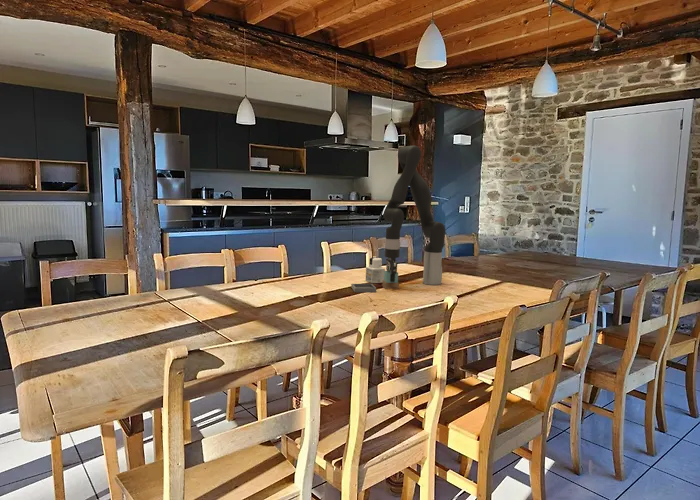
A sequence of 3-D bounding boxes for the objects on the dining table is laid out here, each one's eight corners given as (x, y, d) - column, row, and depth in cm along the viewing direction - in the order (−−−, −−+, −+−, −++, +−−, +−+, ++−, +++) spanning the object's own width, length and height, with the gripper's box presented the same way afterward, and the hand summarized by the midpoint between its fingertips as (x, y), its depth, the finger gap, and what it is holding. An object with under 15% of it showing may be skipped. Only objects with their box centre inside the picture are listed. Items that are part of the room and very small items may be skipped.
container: (365, 280, 260) (366, 256, 258) (377, 279, 263) (378, 256, 262) (371, 283, 253) (372, 259, 251) (384, 282, 256) (385, 258, 255)
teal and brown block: (395, 286, 248) (396, 268, 247) (398, 288, 241) (399, 271, 240) (382, 286, 247) (383, 268, 246) (385, 288, 240) (386, 271, 239)
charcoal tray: (371, 287, 243) (372, 283, 242) (376, 292, 232) (376, 288, 232) (351, 287, 241) (351, 283, 241) (354, 292, 231) (354, 288, 230)
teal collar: (395, 280, 247) (395, 270, 247) (397, 282, 242) (398, 272, 241) (384, 280, 246) (384, 270, 246) (386, 282, 241) (387, 272, 240)
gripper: (403, 249, 235) (401, 283, 237) (396, 245, 249) (394, 277, 251) (388, 249, 234) (386, 283, 236) (381, 245, 248) (380, 277, 250)
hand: (390, 280), depth 244 cm, fingers closed on teal collar, 5 cm apart
